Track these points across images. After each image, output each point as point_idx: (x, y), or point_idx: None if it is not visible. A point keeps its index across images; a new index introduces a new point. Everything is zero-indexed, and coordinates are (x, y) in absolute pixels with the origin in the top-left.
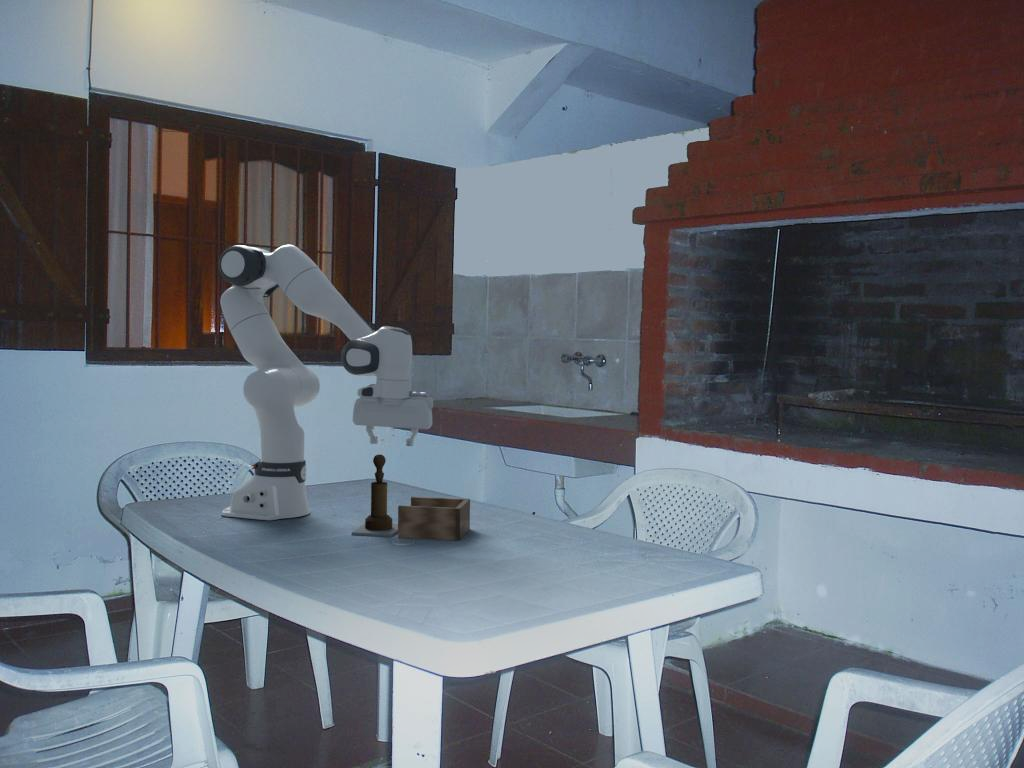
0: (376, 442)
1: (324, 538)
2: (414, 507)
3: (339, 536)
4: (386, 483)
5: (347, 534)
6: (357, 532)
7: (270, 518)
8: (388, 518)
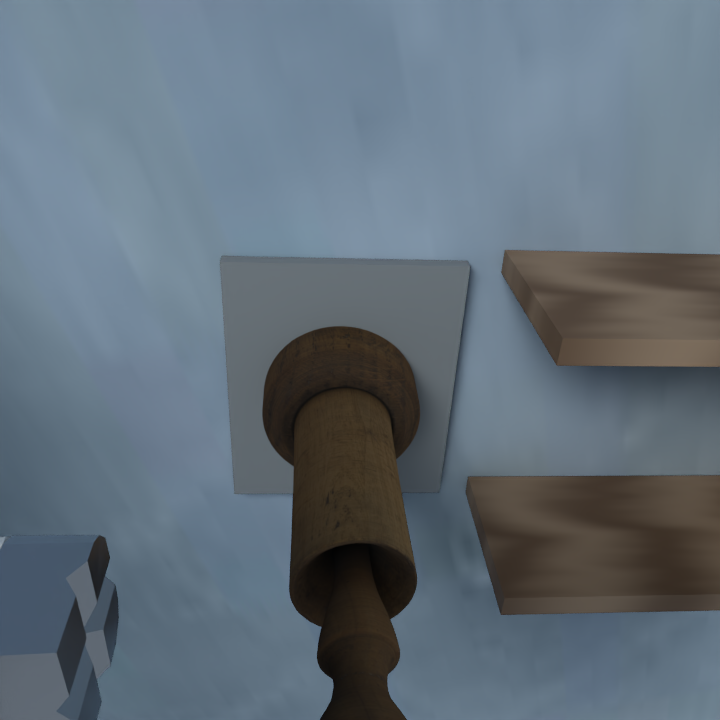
0: (97, 581)
1: (143, 556)
2: (592, 610)
3: (192, 517)
4: (407, 567)
5: (212, 479)
6: (264, 491)
7: None
8: (405, 442)
